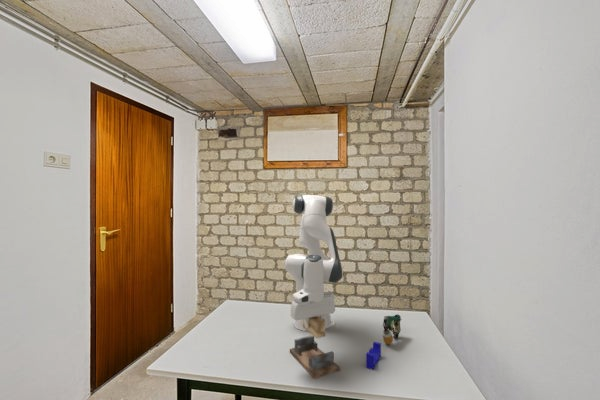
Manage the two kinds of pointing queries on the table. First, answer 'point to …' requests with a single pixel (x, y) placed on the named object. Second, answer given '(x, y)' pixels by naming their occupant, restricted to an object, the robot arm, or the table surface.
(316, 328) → the top rail
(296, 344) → the wooden clamp fixture
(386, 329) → the spray gun
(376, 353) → the cable clip
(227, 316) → the table surface
